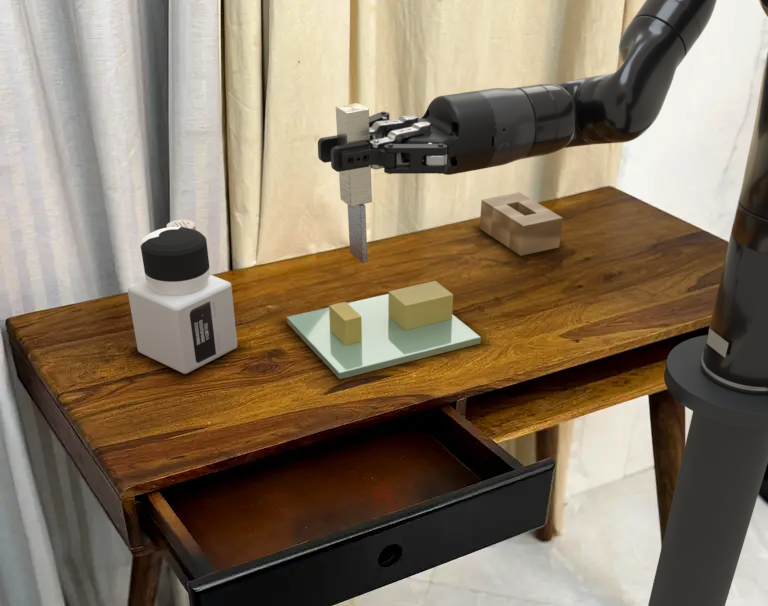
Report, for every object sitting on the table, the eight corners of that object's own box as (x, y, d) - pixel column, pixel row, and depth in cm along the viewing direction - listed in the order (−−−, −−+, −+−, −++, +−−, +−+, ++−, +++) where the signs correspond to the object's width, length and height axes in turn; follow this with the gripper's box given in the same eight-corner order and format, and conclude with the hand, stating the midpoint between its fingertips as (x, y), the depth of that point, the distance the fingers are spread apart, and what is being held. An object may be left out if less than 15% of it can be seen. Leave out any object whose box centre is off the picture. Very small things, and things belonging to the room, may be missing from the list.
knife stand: (479, 228, 132) (481, 199, 130) (516, 220, 135) (519, 192, 132) (520, 256, 125) (523, 225, 123) (559, 247, 128) (563, 217, 125)
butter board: (286, 323, 111) (286, 316, 110) (418, 292, 117) (419, 286, 117) (339, 379, 101) (339, 373, 101) (480, 343, 107) (481, 336, 107)
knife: (341, 254, 103) (333, 105, 94) (362, 249, 104) (356, 101, 94) (354, 265, 101) (347, 113, 92) (375, 260, 102) (370, 109, 92)
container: (239, 348, 106) (227, 232, 98) (185, 376, 102) (168, 257, 94) (191, 326, 110) (176, 213, 102) (136, 352, 105) (116, 236, 97)
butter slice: (329, 330, 108) (328, 305, 106) (346, 326, 109) (345, 301, 107) (345, 345, 105) (344, 320, 103) (362, 341, 106) (361, 316, 104)
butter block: (388, 315, 111) (388, 291, 109) (434, 304, 113) (435, 280, 111) (404, 330, 108) (405, 305, 106) (452, 319, 110) (453, 294, 108)
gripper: (446, 75, 103) (294, 96, 97) (520, 109, 94) (357, 135, 87) (443, 148, 108) (298, 172, 102) (514, 187, 98) (358, 217, 92)
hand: (326, 155), depth 94 cm, fingers closed on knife, 2 cm apart
